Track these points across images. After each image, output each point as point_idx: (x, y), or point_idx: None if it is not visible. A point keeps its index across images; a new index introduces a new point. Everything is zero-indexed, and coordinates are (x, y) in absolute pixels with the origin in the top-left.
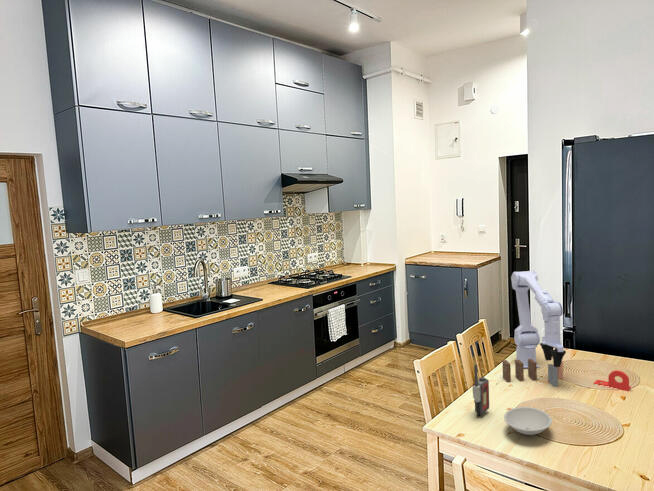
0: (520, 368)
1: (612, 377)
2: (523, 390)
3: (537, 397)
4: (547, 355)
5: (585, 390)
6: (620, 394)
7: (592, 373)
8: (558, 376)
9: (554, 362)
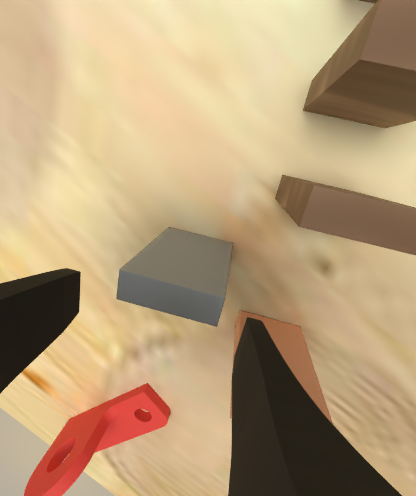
0: (349, 39)
1: (72, 454)
2: (175, 8)
3: (64, 39)
4: (247, 370)
5: (108, 323)
6: (59, 391)
7: None
8: None
9: (16, 281)
